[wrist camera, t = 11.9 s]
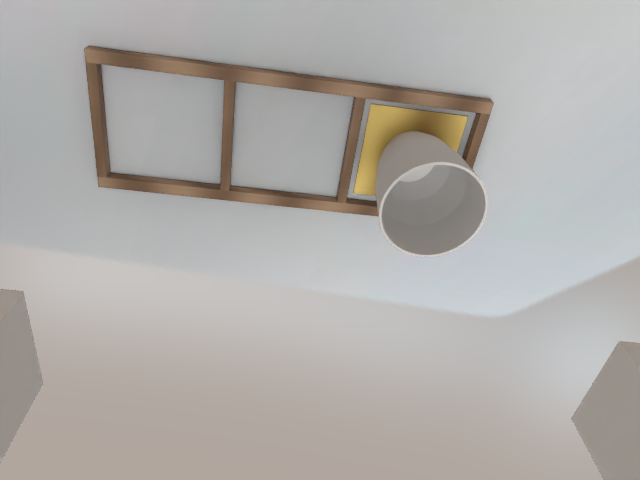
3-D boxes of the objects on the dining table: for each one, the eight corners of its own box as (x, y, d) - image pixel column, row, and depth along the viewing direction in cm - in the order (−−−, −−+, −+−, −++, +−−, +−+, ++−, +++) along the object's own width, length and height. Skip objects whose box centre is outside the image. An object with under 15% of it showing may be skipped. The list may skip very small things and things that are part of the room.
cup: (424, 208, 50) (449, 270, 41) (349, 177, 48) (360, 236, 39) (471, 135, 46) (510, 187, 37) (392, 98, 44) (414, 145, 35)
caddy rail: (102, 181, 47) (98, 186, 46) (88, 46, 41) (84, 49, 40) (451, 219, 51) (454, 224, 50) (490, 99, 44) (493, 102, 43)
